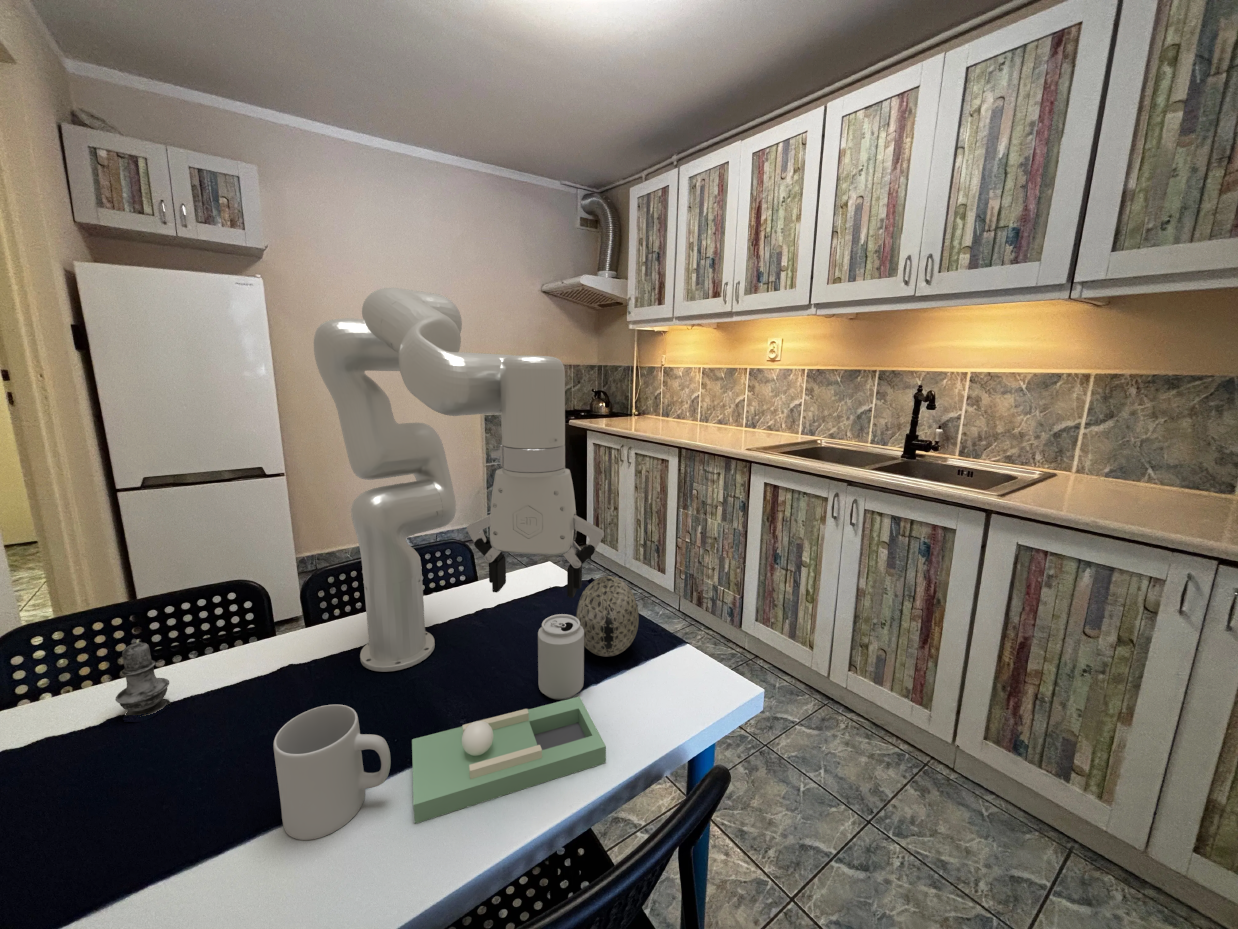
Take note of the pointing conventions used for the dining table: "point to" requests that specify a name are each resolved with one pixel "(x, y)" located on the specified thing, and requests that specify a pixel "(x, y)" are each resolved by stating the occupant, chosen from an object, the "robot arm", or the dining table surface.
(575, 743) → the green
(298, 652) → the dining table surface
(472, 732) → the ball
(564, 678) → the can
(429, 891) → the dining table surface
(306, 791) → the mug
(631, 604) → the decorative egg
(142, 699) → the gray stone finial
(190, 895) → the dining table surface
